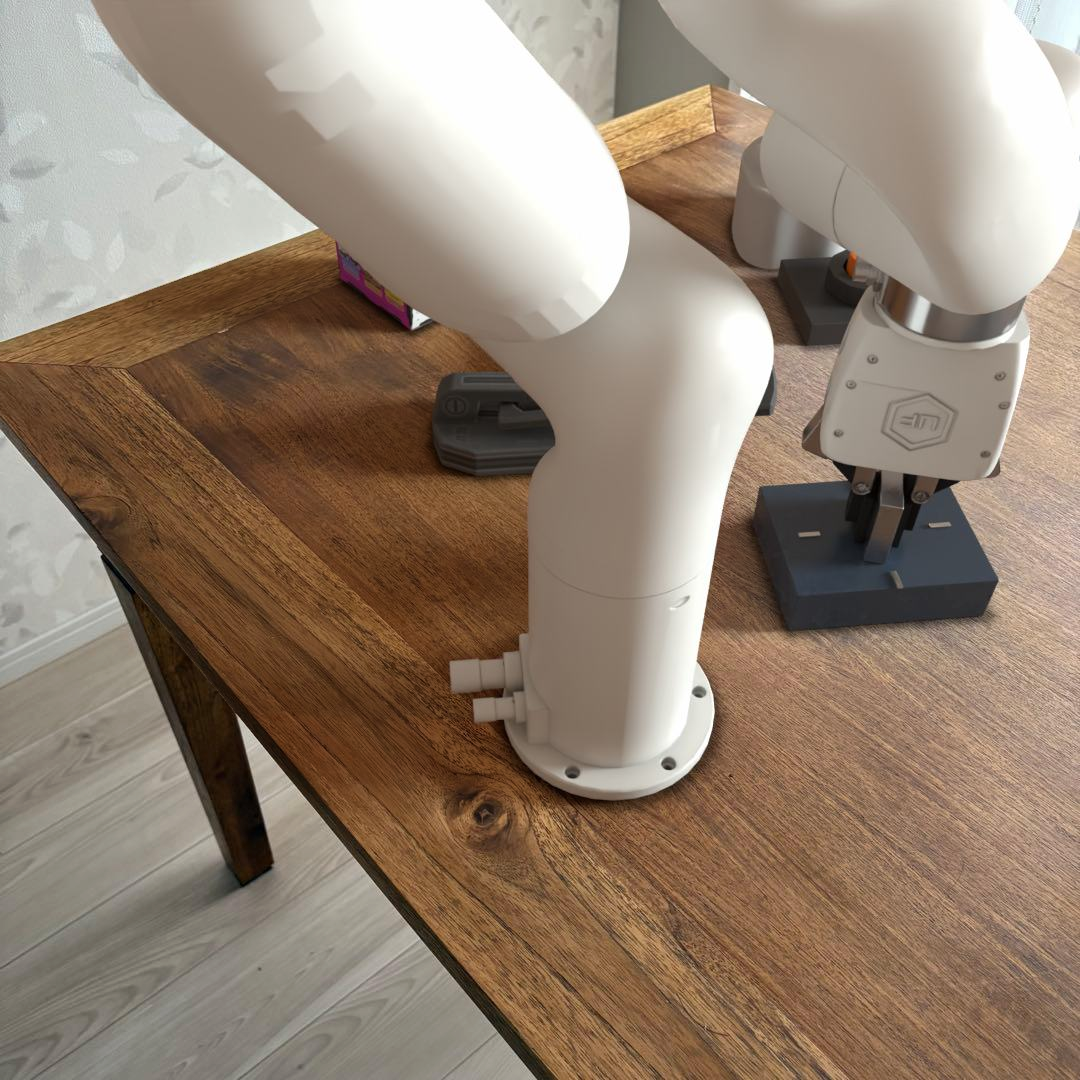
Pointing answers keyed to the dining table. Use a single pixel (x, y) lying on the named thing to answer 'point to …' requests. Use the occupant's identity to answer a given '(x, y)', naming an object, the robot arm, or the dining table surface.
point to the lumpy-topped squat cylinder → (770, 222)
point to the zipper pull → (503, 423)
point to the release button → (851, 264)
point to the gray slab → (884, 516)
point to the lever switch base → (860, 586)
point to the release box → (820, 296)
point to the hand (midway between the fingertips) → (875, 528)
